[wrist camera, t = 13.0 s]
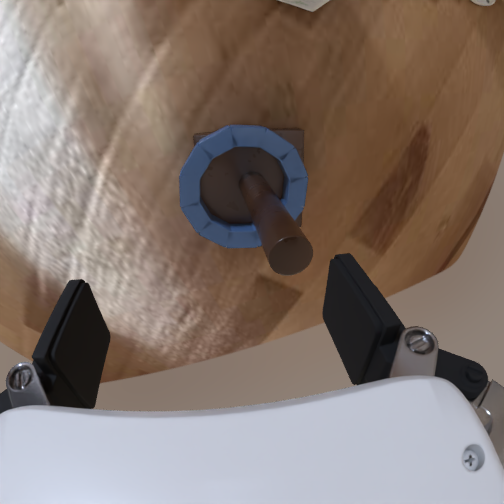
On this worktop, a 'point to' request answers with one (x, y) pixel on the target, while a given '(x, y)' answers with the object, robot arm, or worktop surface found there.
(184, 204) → the ring
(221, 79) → the worktop surface
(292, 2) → the syrup box
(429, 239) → the worktop surface
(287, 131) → the stand
